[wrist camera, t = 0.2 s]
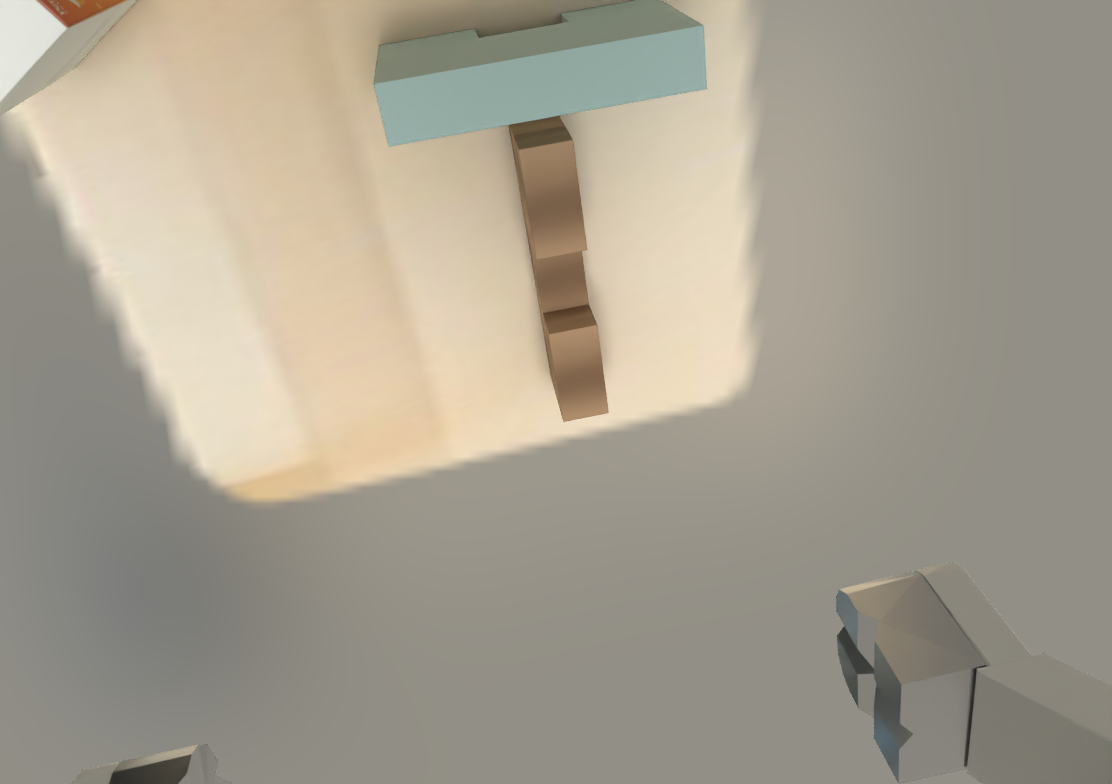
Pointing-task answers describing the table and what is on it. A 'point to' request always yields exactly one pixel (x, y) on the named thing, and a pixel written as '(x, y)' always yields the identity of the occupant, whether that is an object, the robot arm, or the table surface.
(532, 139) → the walnut notched block
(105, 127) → the table surface
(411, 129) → the teal plate
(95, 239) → the table surface
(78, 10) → the small box
